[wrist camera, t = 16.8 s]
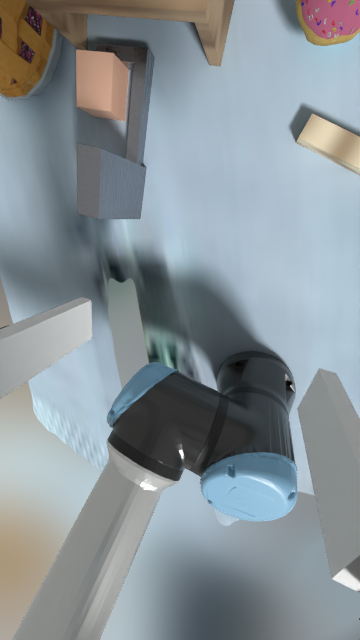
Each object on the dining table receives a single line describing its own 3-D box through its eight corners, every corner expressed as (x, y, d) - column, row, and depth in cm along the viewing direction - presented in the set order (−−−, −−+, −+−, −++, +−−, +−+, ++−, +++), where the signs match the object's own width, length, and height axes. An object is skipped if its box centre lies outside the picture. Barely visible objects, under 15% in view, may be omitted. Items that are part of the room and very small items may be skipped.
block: (125, 121, 36) (111, 111, 32) (94, 116, 37) (76, 106, 33) (129, 70, 33) (113, 52, 29) (94, 66, 34) (75, 49, 31)
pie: (52, 136, 41) (26, 126, 36) (-41, 57, 40) (-77, 38, 36) (96, -42, 29) (67, -86, 25) (-32, -152, 29) (-83, -216, 25)
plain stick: (394, 163, 28) (405, 159, 26) (377, 184, 29) (386, 182, 27) (308, 121, 29) (312, 113, 27) (295, 143, 30) (298, 137, 28)
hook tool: (140, 218, 41) (98, 219, 31) (99, 207, 43) (47, 204, 32) (159, 58, 31) (107, -22, 21) (105, 51, 33) (32, -25, 22)
